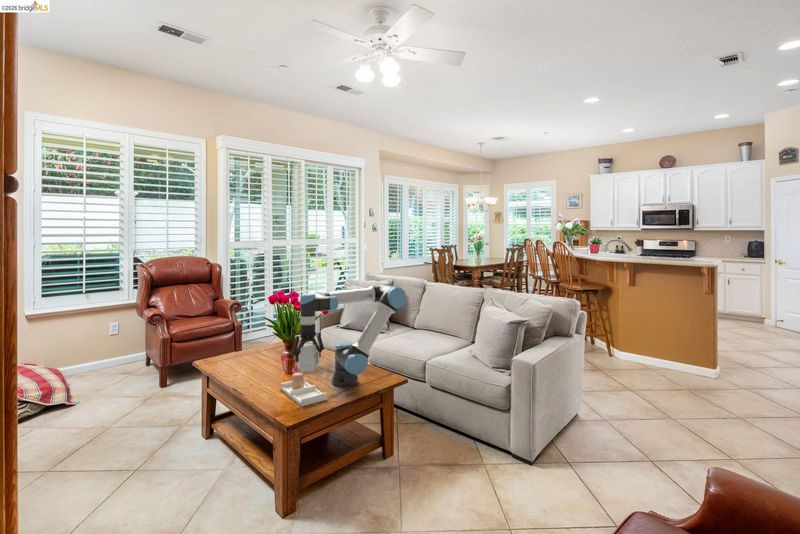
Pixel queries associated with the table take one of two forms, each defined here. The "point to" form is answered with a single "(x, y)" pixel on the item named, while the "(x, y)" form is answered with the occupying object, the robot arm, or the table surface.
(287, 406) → the table surface
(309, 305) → the robot arm
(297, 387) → the tray
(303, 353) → the supplement box
